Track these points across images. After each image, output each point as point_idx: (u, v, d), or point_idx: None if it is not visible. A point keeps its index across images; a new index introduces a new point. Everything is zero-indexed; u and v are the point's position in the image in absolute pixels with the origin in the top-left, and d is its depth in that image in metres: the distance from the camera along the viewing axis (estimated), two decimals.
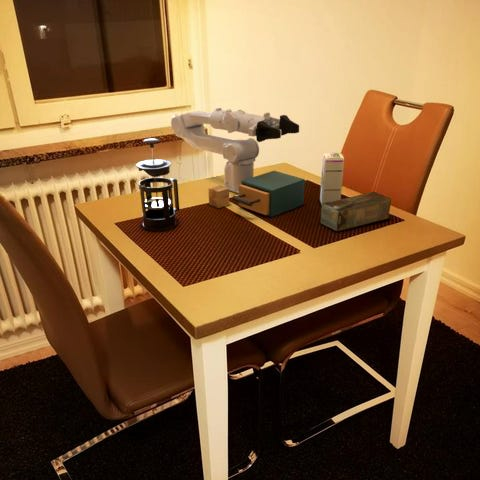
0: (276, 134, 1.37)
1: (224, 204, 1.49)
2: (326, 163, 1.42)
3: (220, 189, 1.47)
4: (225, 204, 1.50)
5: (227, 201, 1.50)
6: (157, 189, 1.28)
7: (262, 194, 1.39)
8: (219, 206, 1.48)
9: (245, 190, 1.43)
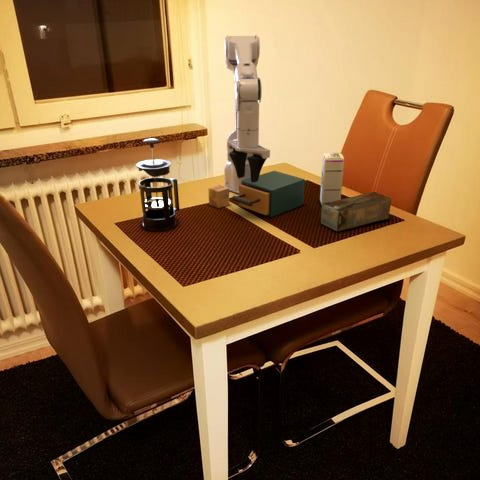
0: None
1: (224, 204, 1.49)
2: (326, 163, 1.42)
3: (220, 189, 1.47)
4: (225, 204, 1.50)
5: (227, 201, 1.50)
6: (157, 189, 1.28)
7: (262, 194, 1.39)
8: (219, 206, 1.48)
9: (245, 190, 1.43)
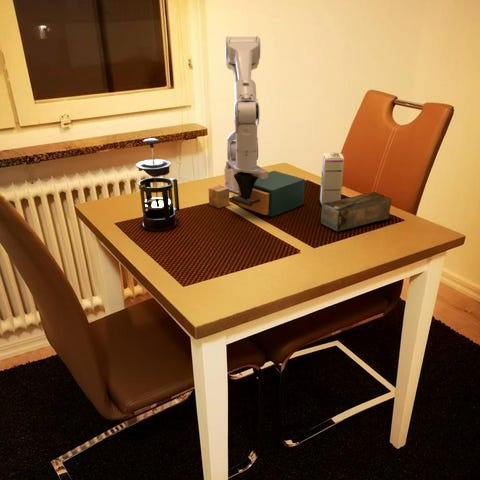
0: None
1: (224, 204, 1.49)
2: (326, 163, 1.42)
3: (220, 189, 1.47)
4: (225, 204, 1.50)
5: (227, 201, 1.50)
6: (157, 189, 1.28)
7: (262, 195, 1.39)
8: (219, 206, 1.48)
9: None
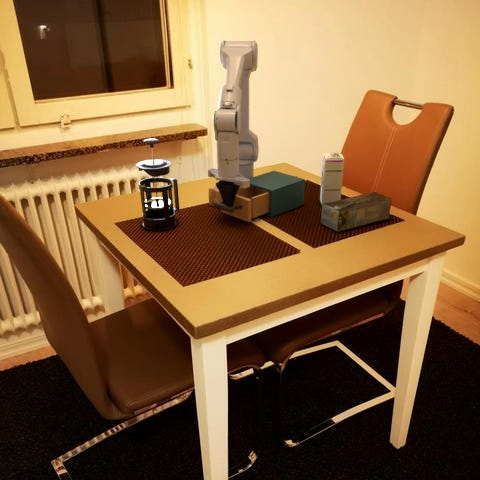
0: None
1: None
2: (326, 163, 1.42)
3: None
4: None
5: None
6: (157, 189, 1.28)
7: (244, 201, 1.35)
8: None
9: None
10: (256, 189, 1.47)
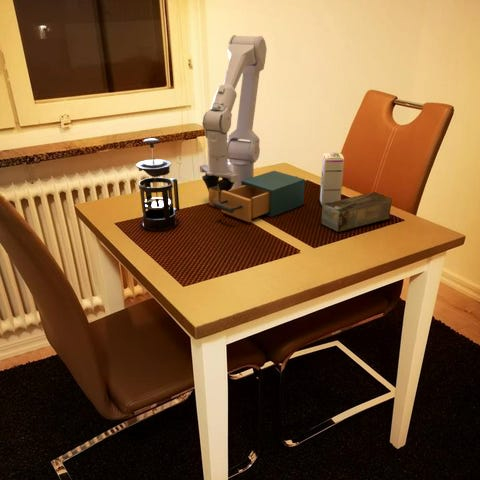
0: None
1: None
2: (326, 163, 1.42)
3: None
4: None
5: None
6: (157, 189, 1.28)
7: (244, 201, 1.35)
8: None
9: (227, 196, 1.39)
10: (256, 189, 1.47)
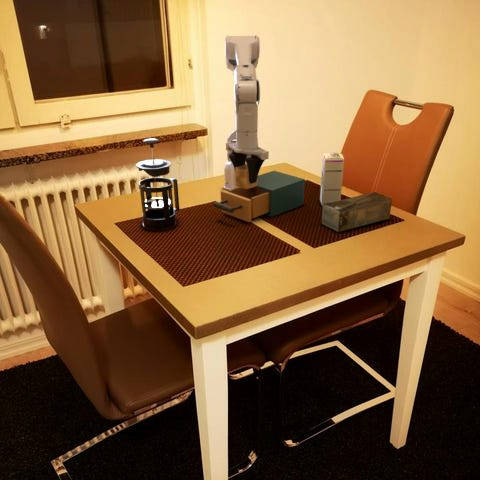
0: None
1: (252, 185, 1.38)
2: (326, 163, 1.42)
3: None
4: (253, 185, 1.38)
5: None
6: (157, 189, 1.28)
7: (244, 201, 1.35)
8: (247, 187, 1.36)
9: (227, 196, 1.39)
10: (256, 189, 1.47)
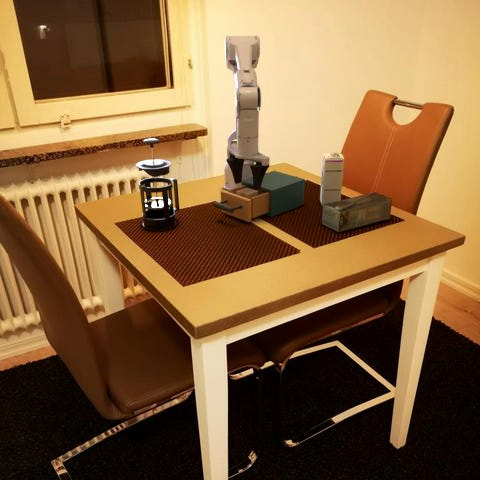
0: None
1: None
2: (326, 163, 1.42)
3: (249, 192, 1.39)
4: None
5: None
6: (157, 189, 1.28)
7: (244, 201, 1.35)
8: None
9: (227, 196, 1.39)
10: None
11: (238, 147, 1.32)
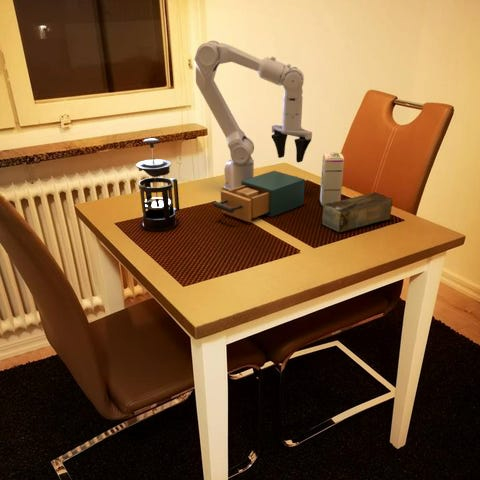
0: (300, 159, 1.52)
1: None
2: (326, 163, 1.42)
3: (249, 192, 1.39)
4: None
5: None
6: (157, 189, 1.28)
7: (244, 201, 1.35)
8: None
9: (227, 196, 1.39)
10: (256, 189, 1.47)
11: None
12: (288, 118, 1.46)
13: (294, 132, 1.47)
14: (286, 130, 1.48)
